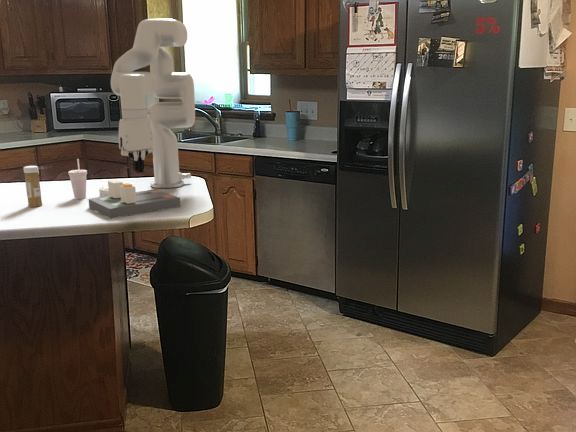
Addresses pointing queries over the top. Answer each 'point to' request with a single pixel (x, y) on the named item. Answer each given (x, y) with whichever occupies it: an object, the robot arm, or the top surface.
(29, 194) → the sprinkles bottle
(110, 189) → the block
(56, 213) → the top surface
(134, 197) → the breaker
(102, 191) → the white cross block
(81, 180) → the smoothie
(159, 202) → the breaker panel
